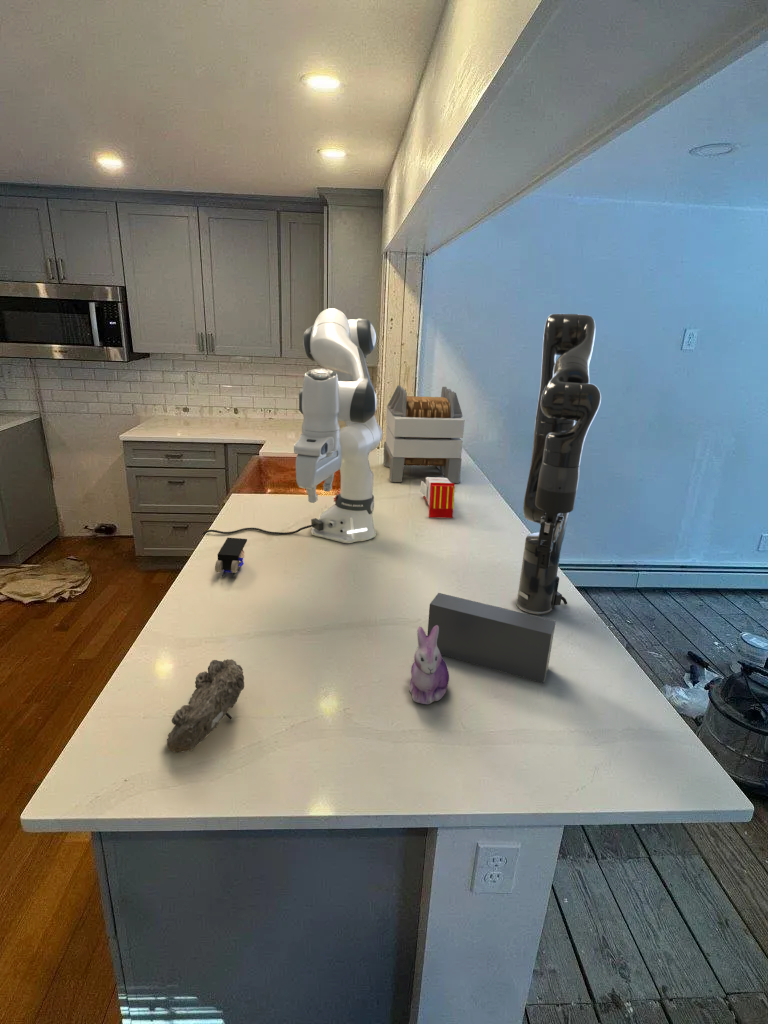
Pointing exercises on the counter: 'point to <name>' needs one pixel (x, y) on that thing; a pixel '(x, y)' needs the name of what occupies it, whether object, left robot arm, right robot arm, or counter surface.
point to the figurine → (428, 669)
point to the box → (492, 636)
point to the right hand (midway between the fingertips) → (545, 560)
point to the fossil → (206, 705)
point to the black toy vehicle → (230, 556)
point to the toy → (439, 496)
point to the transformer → (424, 433)
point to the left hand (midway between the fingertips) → (320, 496)
